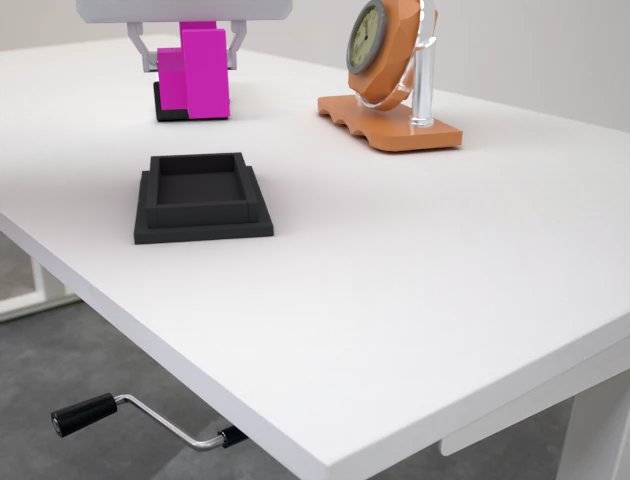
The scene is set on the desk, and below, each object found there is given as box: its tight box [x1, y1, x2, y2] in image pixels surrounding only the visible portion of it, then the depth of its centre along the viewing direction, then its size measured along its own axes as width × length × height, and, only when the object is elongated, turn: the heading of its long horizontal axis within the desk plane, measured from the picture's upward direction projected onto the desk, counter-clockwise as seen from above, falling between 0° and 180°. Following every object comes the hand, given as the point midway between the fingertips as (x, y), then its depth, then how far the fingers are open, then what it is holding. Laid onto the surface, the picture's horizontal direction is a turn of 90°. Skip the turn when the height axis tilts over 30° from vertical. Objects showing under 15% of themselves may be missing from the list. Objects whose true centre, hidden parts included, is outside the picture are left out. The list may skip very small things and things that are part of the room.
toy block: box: [156, 21, 231, 119], centre depth 75 cm, size 15×6×8 cm, turn 11°
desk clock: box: [317, 0, 464, 153], centre depth 109 cm, size 12×30×20 cm, turn 18°
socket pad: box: [133, 151, 275, 245], centre depth 80 cm, size 13×22×3 cm, turn 10°
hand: (191, 70), depth 75 cm, fingers closed on toy block, 6 cm apart
